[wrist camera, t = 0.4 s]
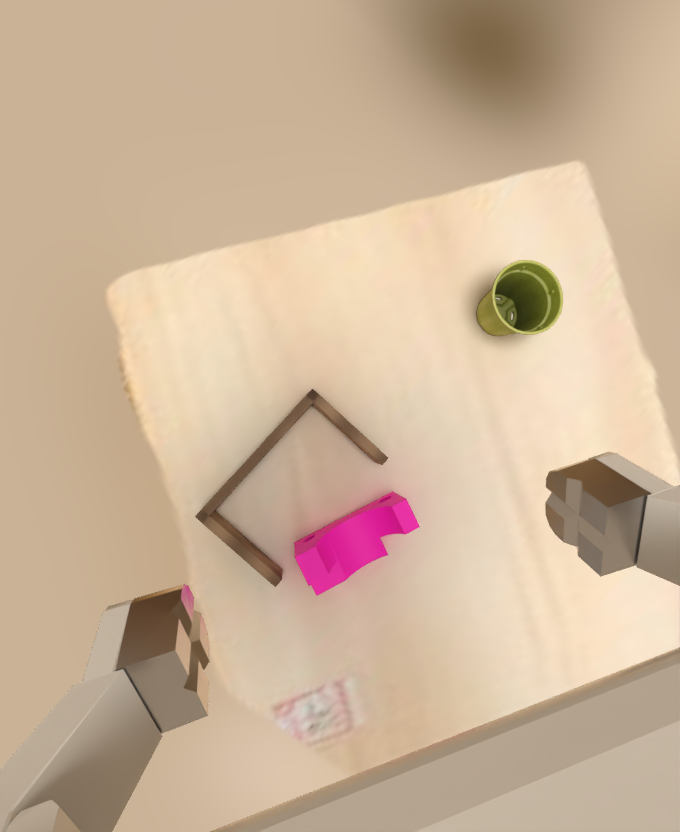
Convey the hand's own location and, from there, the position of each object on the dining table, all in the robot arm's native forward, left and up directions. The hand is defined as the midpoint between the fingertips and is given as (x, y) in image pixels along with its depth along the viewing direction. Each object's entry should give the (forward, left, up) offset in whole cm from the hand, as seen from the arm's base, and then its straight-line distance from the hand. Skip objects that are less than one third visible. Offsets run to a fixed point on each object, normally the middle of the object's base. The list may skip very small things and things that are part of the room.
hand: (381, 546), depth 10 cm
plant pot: (-7, -33, -52) cm, 62 cm away
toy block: (-13, +4, -52) cm, 53 cm away
